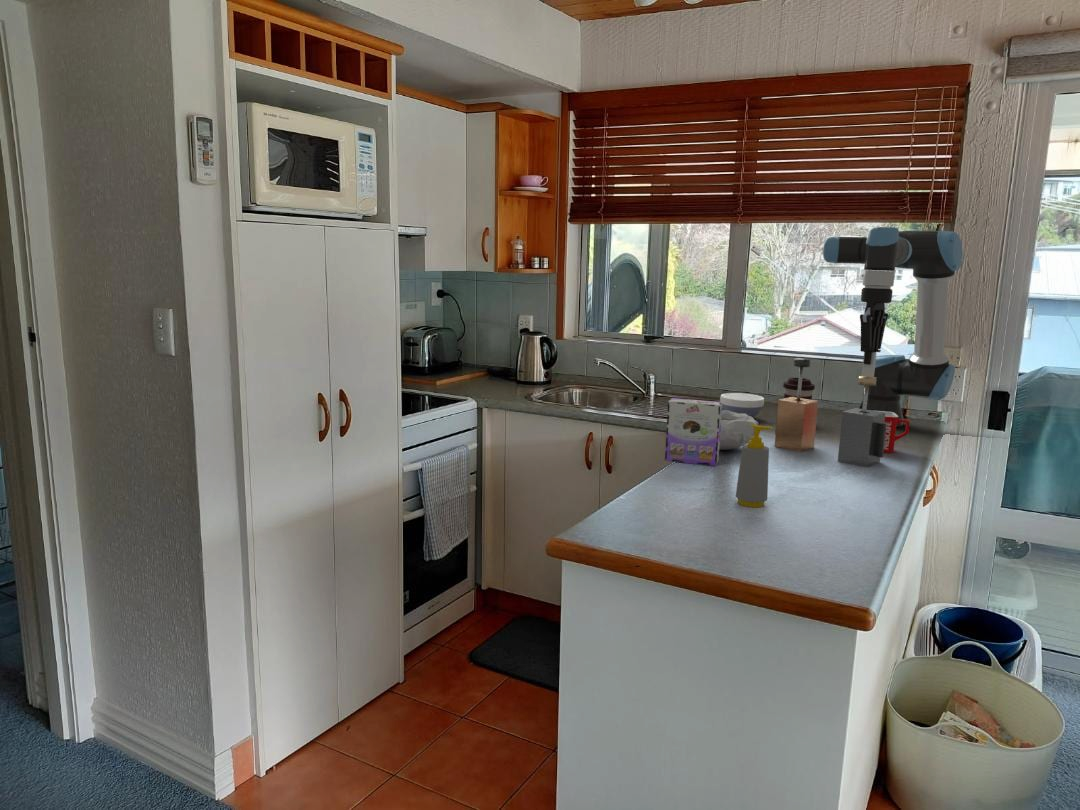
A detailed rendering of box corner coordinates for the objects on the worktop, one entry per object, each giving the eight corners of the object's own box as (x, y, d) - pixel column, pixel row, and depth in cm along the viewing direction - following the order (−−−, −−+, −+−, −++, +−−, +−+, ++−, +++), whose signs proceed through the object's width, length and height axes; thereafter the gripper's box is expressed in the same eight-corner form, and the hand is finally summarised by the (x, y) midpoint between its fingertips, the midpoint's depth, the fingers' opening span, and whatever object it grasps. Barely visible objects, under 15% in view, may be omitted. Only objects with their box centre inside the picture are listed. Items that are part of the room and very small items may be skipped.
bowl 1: (768, 418, 276) (769, 396, 274) (754, 425, 263) (756, 402, 262) (727, 412, 283) (728, 391, 282) (712, 419, 271) (714, 397, 270)
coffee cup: (812, 427, 262) (817, 382, 259) (781, 425, 264) (785, 380, 261) (809, 421, 272) (813, 377, 269) (778, 419, 274) (782, 375, 271)
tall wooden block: (781, 440, 242) (785, 395, 239) (813, 447, 235) (818, 400, 232) (768, 444, 236) (772, 398, 233) (800, 451, 229) (805, 404, 226)
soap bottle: (762, 510, 175) (768, 429, 171) (730, 504, 178) (737, 425, 175) (771, 502, 180) (778, 424, 177) (740, 496, 184) (746, 420, 181)
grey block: (850, 456, 225) (855, 408, 222) (887, 463, 218) (892, 413, 215) (837, 461, 219) (842, 411, 217) (874, 468, 212) (880, 417, 210)
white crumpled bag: (685, 437, 242) (687, 405, 240) (755, 442, 238) (757, 409, 236) (683, 454, 222) (685, 418, 220) (759, 460, 218) (762, 424, 216)
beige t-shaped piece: (854, 436, 222) (861, 374, 219) (876, 440, 218) (883, 377, 215) (845, 439, 218) (852, 376, 215) (867, 443, 214) (874, 379, 211)
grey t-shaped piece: (792, 415, 237) (797, 357, 234) (811, 418, 233) (816, 359, 230) (782, 417, 233) (787, 358, 230) (801, 420, 229) (807, 361, 225)
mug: (865, 451, 231) (868, 415, 229) (860, 445, 239) (863, 410, 237) (909, 454, 229) (913, 418, 227) (902, 448, 237) (907, 412, 235)
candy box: (719, 461, 215) (723, 401, 212) (716, 466, 210) (720, 405, 207) (667, 456, 220) (671, 396, 216) (663, 461, 214) (667, 400, 211)
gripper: (873, 286, 218) (864, 372, 222) (852, 286, 208) (843, 376, 213) (901, 287, 213) (891, 376, 217) (881, 288, 203) (871, 380, 208)
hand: (867, 376), depth 215 cm, fingers closed
